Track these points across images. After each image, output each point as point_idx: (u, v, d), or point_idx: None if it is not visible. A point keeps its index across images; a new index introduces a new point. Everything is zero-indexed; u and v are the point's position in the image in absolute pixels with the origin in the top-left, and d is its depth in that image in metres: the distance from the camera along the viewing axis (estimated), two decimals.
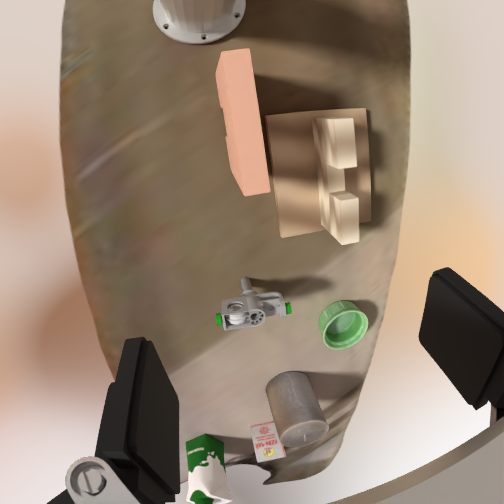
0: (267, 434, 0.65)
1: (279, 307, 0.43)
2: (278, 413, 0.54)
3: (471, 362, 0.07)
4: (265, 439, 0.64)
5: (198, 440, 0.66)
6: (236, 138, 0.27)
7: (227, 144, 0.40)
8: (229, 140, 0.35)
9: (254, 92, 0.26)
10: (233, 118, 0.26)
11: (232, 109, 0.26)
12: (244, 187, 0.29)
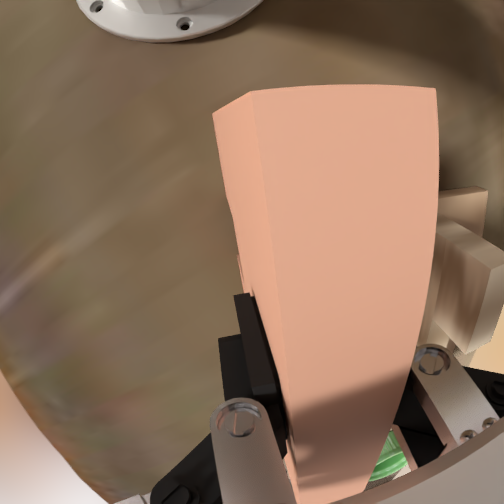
0: None
1: None
2: None
3: None
4: None
5: None
6: (300, 471, 0.07)
7: (242, 281, 0.19)
8: None
9: (409, 347, 0.05)
10: (299, 442, 0.06)
11: (297, 423, 0.05)
12: None
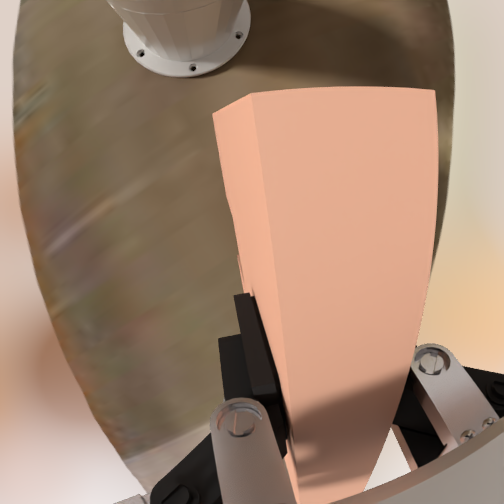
0: None
1: None
2: None
3: None
4: None
5: None
6: (300, 471, 0.07)
7: (242, 281, 0.19)
8: None
9: (409, 348, 0.05)
10: (299, 442, 0.06)
11: (297, 423, 0.05)
12: None
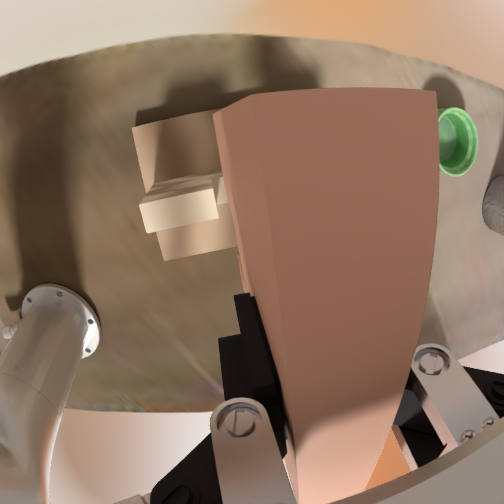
0: None
1: None
2: None
3: None
4: None
5: None
6: (300, 472, 0.07)
7: None
8: None
9: (409, 349, 0.05)
10: (299, 443, 0.06)
11: (298, 424, 0.05)
12: None
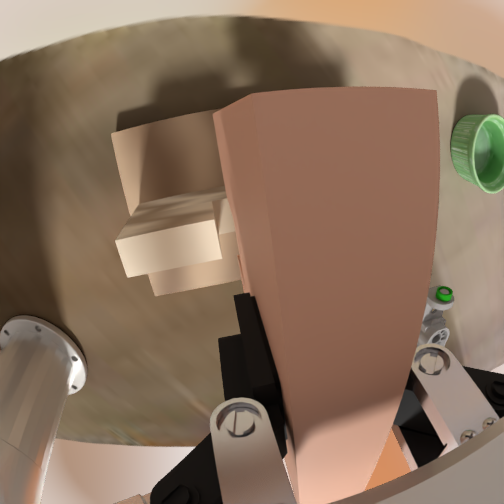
0: None
1: None
2: None
3: None
4: None
5: None
6: (300, 472, 0.07)
7: None
8: None
9: (409, 349, 0.05)
10: (299, 443, 0.06)
11: (298, 424, 0.05)
12: None
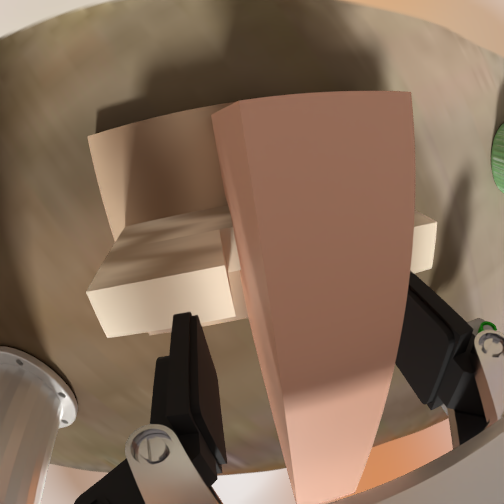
0: None
1: None
2: None
3: (422, 361, 0.08)
4: None
5: None
6: (294, 459, 0.07)
7: (241, 278, 0.20)
8: (251, 314, 0.15)
9: (394, 335, 0.06)
10: (291, 427, 0.06)
11: (290, 408, 0.06)
12: (300, 503, 0.09)
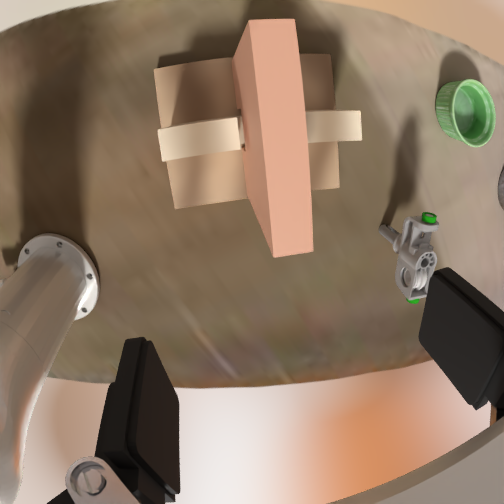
0: None
1: None
2: None
3: (471, 362, 0.07)
4: None
5: None
6: (266, 166, 0.17)
7: (244, 160, 0.29)
8: (249, 158, 0.24)
9: (300, 91, 0.15)
10: (263, 132, 0.16)
11: (262, 117, 0.16)
12: (274, 244, 0.19)
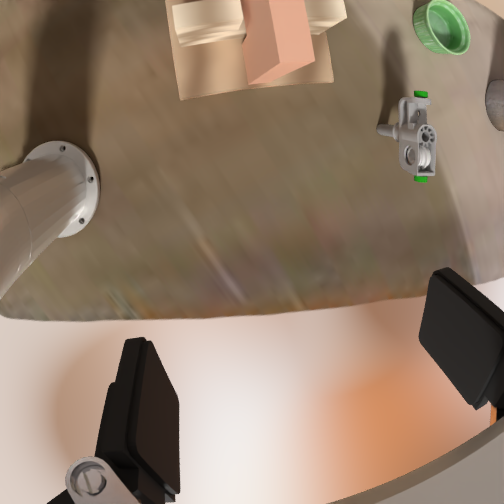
0: None
1: (418, 104, 0.27)
2: None
3: (471, 362, 0.07)
4: None
5: None
6: None
7: (245, 50, 0.28)
8: (250, 31, 0.23)
9: None
10: None
11: None
12: (279, 51, 0.17)
